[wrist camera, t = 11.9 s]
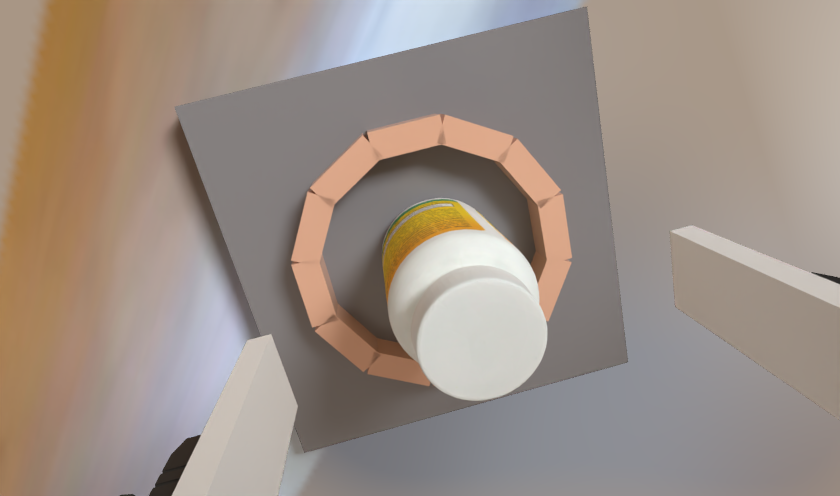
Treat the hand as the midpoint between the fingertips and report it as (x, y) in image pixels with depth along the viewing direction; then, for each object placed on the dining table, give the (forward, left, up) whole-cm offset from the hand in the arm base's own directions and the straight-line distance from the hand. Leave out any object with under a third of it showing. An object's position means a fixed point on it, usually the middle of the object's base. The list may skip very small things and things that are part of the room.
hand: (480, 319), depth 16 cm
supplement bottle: (0, 0, -8) cm, 8 cm away
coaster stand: (0, 0, -10) cm, 10 cm away
